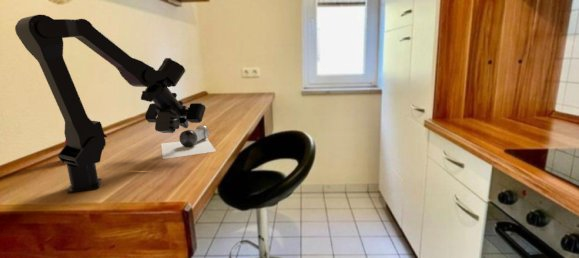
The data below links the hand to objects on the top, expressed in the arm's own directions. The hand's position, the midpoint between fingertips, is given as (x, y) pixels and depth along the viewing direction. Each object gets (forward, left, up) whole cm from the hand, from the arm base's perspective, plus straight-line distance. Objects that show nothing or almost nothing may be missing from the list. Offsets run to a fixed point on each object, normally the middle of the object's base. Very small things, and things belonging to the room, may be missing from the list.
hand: (186, 127), depth 111 cm
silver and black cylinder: (-1, +1, -4) cm, 4 cm away
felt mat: (-1, +1, -7) cm, 7 cm away
